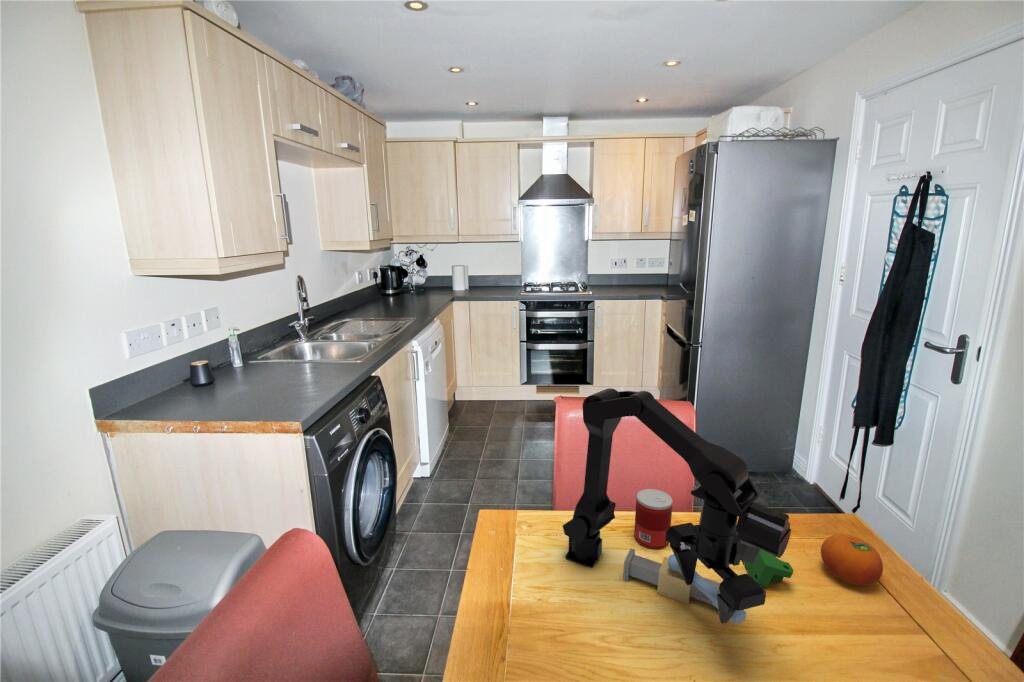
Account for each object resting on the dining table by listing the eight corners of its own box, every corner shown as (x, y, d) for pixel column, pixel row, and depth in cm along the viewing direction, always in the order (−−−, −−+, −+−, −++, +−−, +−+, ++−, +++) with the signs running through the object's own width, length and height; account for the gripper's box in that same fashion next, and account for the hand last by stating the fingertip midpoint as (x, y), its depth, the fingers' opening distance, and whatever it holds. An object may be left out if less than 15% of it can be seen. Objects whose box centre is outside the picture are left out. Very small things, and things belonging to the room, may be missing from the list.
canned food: (673, 550, 107) (677, 507, 104) (638, 549, 107) (641, 507, 104) (663, 529, 114) (666, 488, 112) (630, 528, 114) (633, 488, 112)
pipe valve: (622, 580, 98) (624, 560, 96) (629, 566, 102) (630, 546, 101) (727, 618, 88) (730, 596, 87) (730, 600, 92) (732, 579, 91)
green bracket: (774, 602, 97) (798, 582, 92) (746, 593, 98) (767, 573, 92) (763, 548, 107) (784, 528, 101) (737, 541, 107) (756, 520, 102)
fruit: (806, 564, 102) (811, 532, 100) (841, 554, 105) (847, 522, 103) (854, 600, 92) (861, 565, 90) (891, 587, 95) (899, 553, 93)
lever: (732, 627, 80) (733, 618, 79) (663, 564, 95) (664, 556, 94) (747, 620, 81) (748, 611, 81) (677, 559, 96) (678, 551, 95)
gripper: (800, 553, 74) (783, 635, 78) (717, 491, 91) (707, 560, 95) (743, 566, 71) (728, 650, 74) (669, 499, 88) (660, 570, 92)
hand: (705, 602), depth 84 cm, fingers open, 9 cm apart
